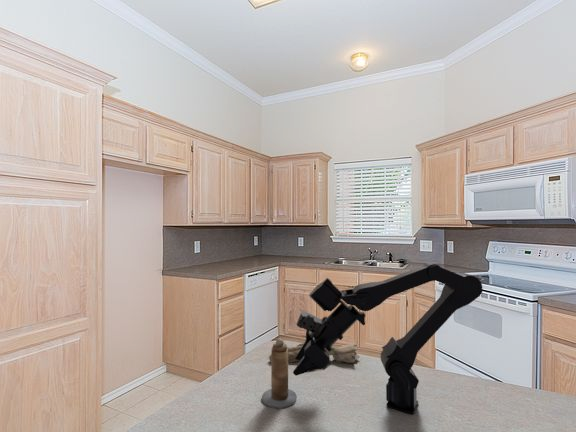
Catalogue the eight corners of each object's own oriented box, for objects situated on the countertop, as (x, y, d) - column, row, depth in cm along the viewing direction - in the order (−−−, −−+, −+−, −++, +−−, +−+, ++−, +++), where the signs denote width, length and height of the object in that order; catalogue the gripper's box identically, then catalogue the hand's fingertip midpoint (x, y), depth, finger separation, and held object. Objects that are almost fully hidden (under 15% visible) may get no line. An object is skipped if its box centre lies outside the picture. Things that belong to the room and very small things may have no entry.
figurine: (268, 375, 104) (364, 369, 103) (267, 355, 105) (362, 349, 103) (274, 355, 121) (356, 350, 119) (272, 338, 121) (354, 332, 120)
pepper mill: (290, 393, 87) (290, 336, 88) (285, 401, 83) (285, 342, 84) (274, 391, 89) (274, 335, 89) (269, 399, 84) (269, 340, 85)
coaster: (302, 395, 87) (302, 393, 87) (284, 412, 80) (284, 409, 80) (274, 387, 92) (274, 384, 92) (255, 401, 85) (255, 399, 85)
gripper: (314, 294, 95) (277, 332, 96) (314, 310, 77) (268, 357, 77) (343, 321, 94) (305, 360, 95) (349, 345, 76) (302, 392, 76)
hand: (295, 366), depth 86 cm, fingers open, 9 cm apart
